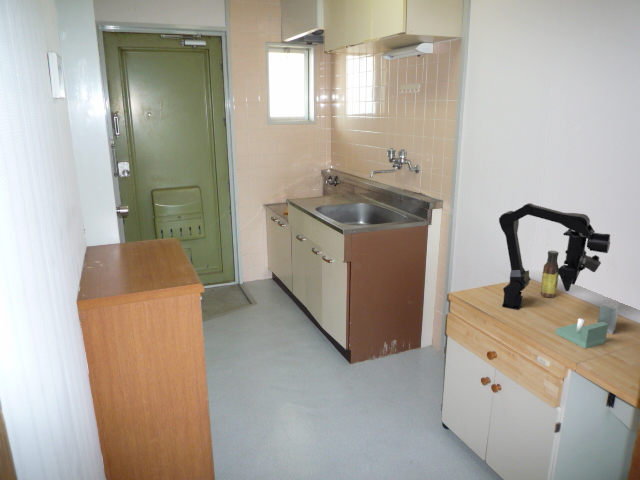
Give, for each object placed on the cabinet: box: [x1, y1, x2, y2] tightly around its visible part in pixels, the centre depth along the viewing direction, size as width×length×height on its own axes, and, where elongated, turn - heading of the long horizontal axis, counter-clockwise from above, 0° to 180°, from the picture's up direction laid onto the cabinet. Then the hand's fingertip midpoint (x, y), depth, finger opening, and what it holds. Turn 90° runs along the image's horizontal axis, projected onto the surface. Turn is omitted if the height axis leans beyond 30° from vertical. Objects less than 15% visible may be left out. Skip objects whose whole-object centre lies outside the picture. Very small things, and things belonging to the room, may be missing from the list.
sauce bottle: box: [540, 250, 560, 299], centre depth 202 cm, size 6×6×20 cm
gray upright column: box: [597, 300, 620, 335], centre depth 171 cm, size 5×5×10 cm
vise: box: [554, 317, 608, 349], centre depth 165 cm, size 12×10×7 cm
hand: (570, 287), depth 178 cm, fingers open, 9 cm apart
